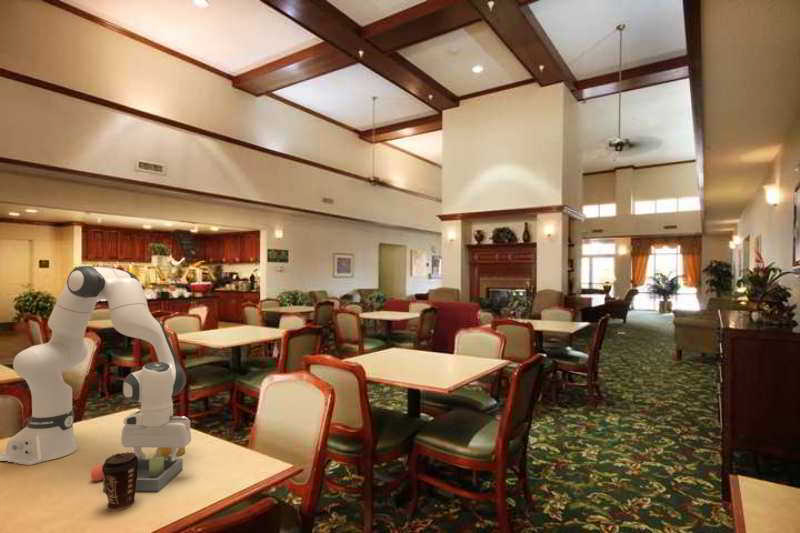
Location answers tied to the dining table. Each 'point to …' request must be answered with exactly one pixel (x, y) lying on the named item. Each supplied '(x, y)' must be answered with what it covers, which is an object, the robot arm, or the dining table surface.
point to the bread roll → (167, 452)
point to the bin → (155, 483)
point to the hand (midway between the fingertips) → (156, 460)
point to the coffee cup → (120, 480)
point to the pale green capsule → (156, 467)
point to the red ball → (97, 473)
